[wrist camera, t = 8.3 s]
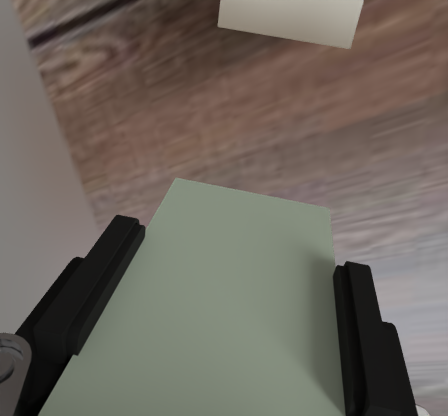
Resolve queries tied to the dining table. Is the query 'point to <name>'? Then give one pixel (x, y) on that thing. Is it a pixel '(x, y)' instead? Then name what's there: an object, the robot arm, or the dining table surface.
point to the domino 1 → (216, 315)
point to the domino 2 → (294, 19)
